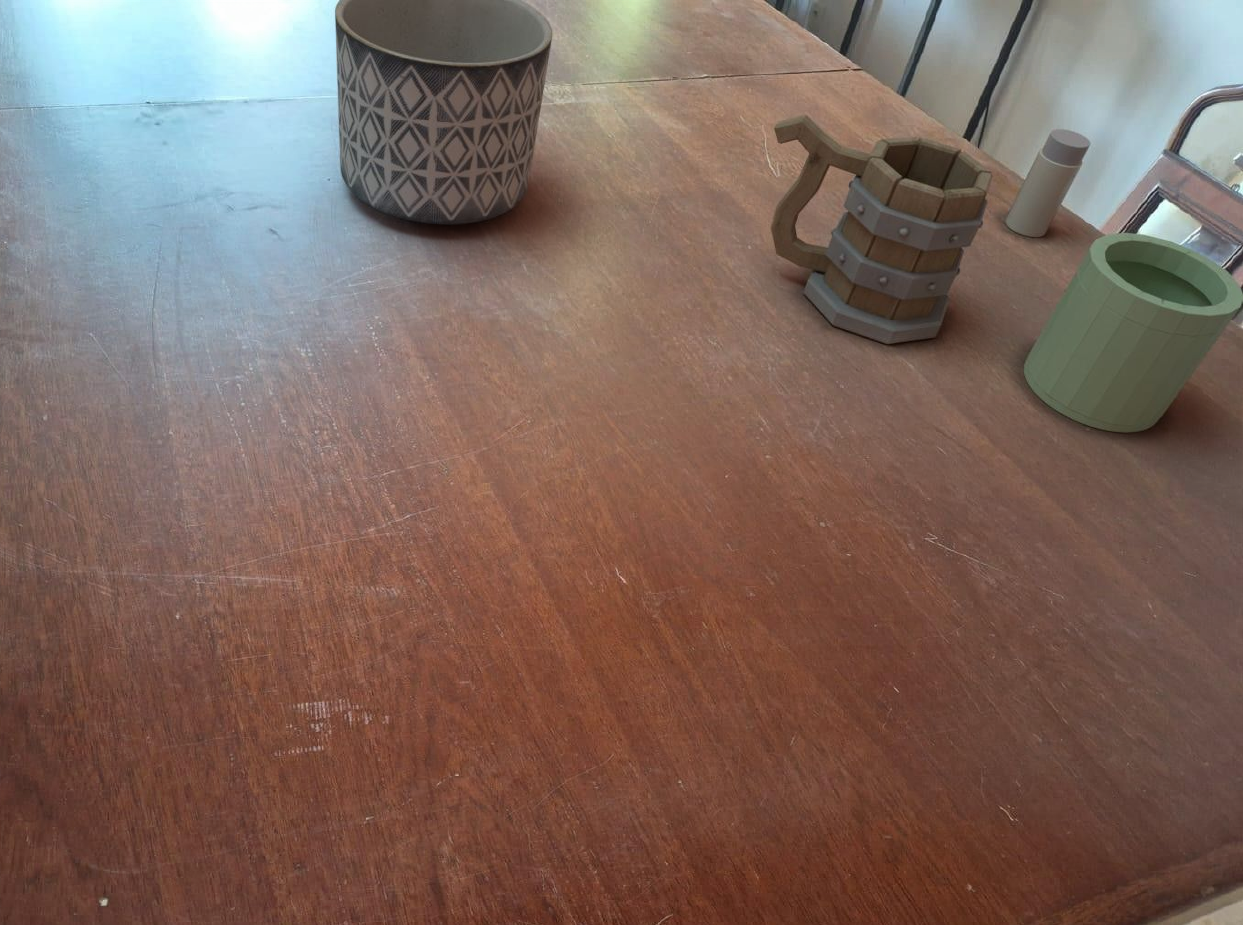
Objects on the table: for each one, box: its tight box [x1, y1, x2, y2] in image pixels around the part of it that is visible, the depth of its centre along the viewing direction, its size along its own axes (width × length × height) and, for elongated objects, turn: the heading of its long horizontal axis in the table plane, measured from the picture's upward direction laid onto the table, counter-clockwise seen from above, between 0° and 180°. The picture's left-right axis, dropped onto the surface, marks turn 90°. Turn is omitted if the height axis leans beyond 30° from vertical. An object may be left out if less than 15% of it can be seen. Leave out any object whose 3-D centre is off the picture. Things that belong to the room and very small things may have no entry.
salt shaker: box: [1004, 128, 1091, 238], centre depth 111 cm, size 4×4×10 cm
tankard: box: [770, 114, 993, 345], centre depth 96 cm, size 20×13×15 cm, turn 65°
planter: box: [334, 0, 553, 225], centre depth 100 cm, size 19×19×16 cm
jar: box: [1023, 232, 1243, 434], centre depth 90 cm, size 12×12×12 cm
